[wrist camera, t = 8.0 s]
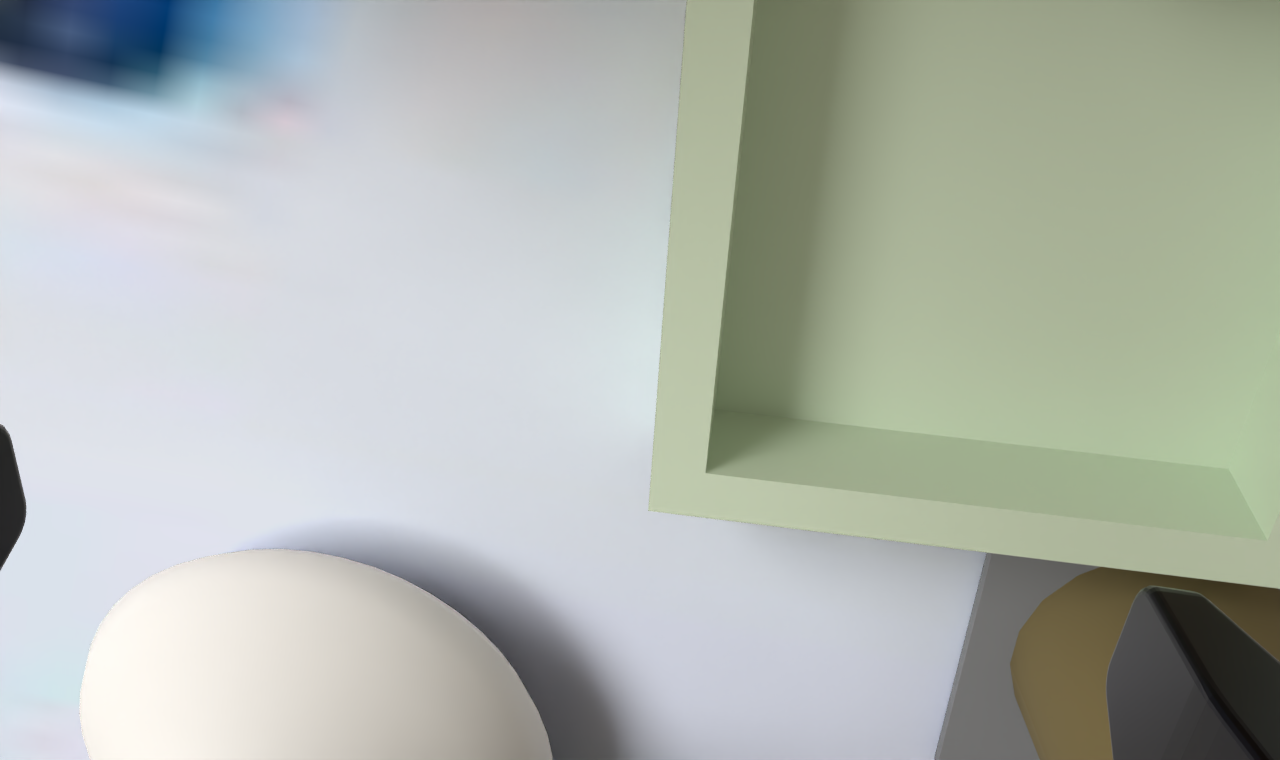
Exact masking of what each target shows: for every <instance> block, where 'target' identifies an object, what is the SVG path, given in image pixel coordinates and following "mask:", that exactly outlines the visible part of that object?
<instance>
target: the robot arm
mask: <svg viewBox="0 0 1280 760" xmlns="http://www.w3.org/2000/svg"><path fill="white" fill-rule="evenodd" d="M25 518H26V500H25V496H24V492H23V487H22V483H21V479H20V475H19V470H18V466H17V462H16V458H15V453H14V449H13V445H12V441H11V438H10V435H9V433H8V431H7V430H6V429H5V427H4V426H3V425H1V424H0V570H1V568H2V567H3V565H4V563H5V561H6V559H7V558H8V556H9V554H10V552H11V551H12V549H13V547H14V545H15V543H16V542H17V540H18V538H19V536H20V534H21V532H22V529H23V526H24V523H25ZM1106 700H1107V709H1108V718H1109V727H1110V737H1111V746H1112V755H1113V760H1280V662H1279V661H1278V660H1277V659H1276V658H1275V657H1274V656H1272V655H1271V654H1270V653H1269V652H1268V651H1267V650H1266V649H1264V648H1263V647H1262V646H1261V645H1260V644H1259V643H1258V642H1256V641H1255V640H1254V639H1253V638H1252V637H1251V636H1250V635H1248V634H1247V633H1246V632H1245V631H1244V630H1243V629H1242V628H1240V627H1239V626H1238V625H1237V624H1236V623H1235V622H1234V621H1233V620H1231V619H1230V618H1229V617H1228V616H1227V615H1226V614H1225V613H1223V612H1222V611H1221V610H1220V609H1219V608H1218V607H1217V606H1215V605H1214V604H1213V603H1212V602H1211V601H1210V600H1208V599H1207V598H1206V597H1205V596H1203V595H1202V594H1200V593H1197V592H1194V591H1188V590H1181V589H1174V588H1167V587H1160V586H1147V587H1145V588H1143V589H1141V590H1140V591H1139V593H1138V594H1137V595H1136V597H1135V599H1134V601H1133V603H1132V606H1131V608H1130V611H1129V613H1128V616H1127V619H1126V621H1125V624H1124V626H1123V629H1122V632H1121V634H1120V637H1119V639H1118V642H1117V644H1116V647H1115V650H1114V652H1113V655H1112V657H1111V660H1110V663H1109V666H1108V671H1107V678H1106Z"/></svg>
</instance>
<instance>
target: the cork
mask: <svg viewBox="0 0 1280 760" xmlns="http://www.w3.org/2000/svg"><path fill="white" fill-rule="evenodd" d="M1147 586H1160V587H1167V588H1174V589H1181V590H1188V591H1194V592H1197V593H1200V594H1202V595H1203V596H1205V597H1206V598H1207V599H1208V600H1210V601H1211V602H1212V603H1213V604H1214V605H1215V606H1217V607H1218V608H1219V609H1220V610H1221V611H1222V612H1223V613H1225V614H1226V615H1227V616H1228V617H1229V618H1230V619H1231V620H1233V621H1234V622H1235V623H1236V624H1237V625H1238V626H1239V627H1240V628H1242V629H1243V630H1244V631H1245V632H1246V633H1247V634H1248V635H1250V636H1251V637H1252V638H1253V639H1254V640H1255V641H1256V642H1258V643H1259V644H1260V645H1261V646H1262V647H1263V648H1264V649H1266V650H1267V651H1268V652H1269V653H1270V654H1271V655H1272V656H1274V657H1275V658H1276V659H1277V660H1278V661H1279V662H1280V590H1279V589H1277V588H1270V587H1262V586H1254V585H1246V584H1237V583H1229V582H1221V581H1213V580H1205V579H1197V578H1189V577H1181V576H1173V575H1165V574H1157V573H1148V572H1140V571H1132V570H1124V569H1116V568H1108V567H1099V568H1096V569H1094V570H1091V571H1088V572H1085V573H1083V574H1080V575H1078V576H1076V577H1075V578H1074V579H1072V580H1071V581H1069V582H1068V583H1066V584H1065V585H1064V586H1062V587H1061V588H1059V589H1058V590H1056V591H1055V592H1054V593H1052V594H1051V595H1049V596H1048V597H1047V598H1045V599H1044V600H1042V602H1041V603H1040V604H1039V606H1038V607H1037V608H1036V610H1035V611H1034V612H1033V614H1032V615H1031V616H1030V617H1029V619H1028V620H1027V621H1026V623H1025V624H1024V625H1023V627H1022V628H1021V629H1020V631H1019V633H1018V637H1017V641H1016V644H1015V648H1014V651H1013V655H1012V658H1011V662H1010V668H1011V675H1012V682H1013V688H1014V695H1015V698H1016V701H1017V703H1018V706H1019V708H1020V711H1021V713H1022V716H1023V718H1024V721H1025V723H1026V726H1027V729H1028V731H1029V734H1030V736H1031V739H1032V741H1033V744H1034V746H1035V749H1036V751H1037V754H1038V756H1039V759H1040V760H1113V755H1112V746H1111V737H1110V727H1109V718H1108V709H1107V700H1106V678H1107V671H1108V666H1109V663H1110V660H1111V657H1112V655H1113V652H1114V650H1115V647H1116V644H1117V642H1118V639H1119V637H1120V634H1121V632H1122V629H1123V626H1124V624H1125V621H1126V619H1127V616H1128V613H1129V611H1130V608H1131V606H1132V603H1133V601H1134V599H1135V597H1136V595H1137V594H1138V593H1139V591H1140V590H1141V589H1143V588H1145V587H1147Z"/></svg>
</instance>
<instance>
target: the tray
mask: <svg viewBox="0 0 1280 760" xmlns="http://www.w3.org/2000/svg"><path fill="white" fill-rule="evenodd" d="M648 511H654V512H663V513H671V514H679V515H687V516H695V517H703V518H711V519H719V520H727V521H735V522H743V523H752V524H760V525H768V526H776V527H784V528H792V529H800V530H808V531H816V532H824V533H833V534H841V535H849V536H857V537H865V538H873V539H881V540H889V541H897V542H905V543H914V544H922V545H930V546H938V547H946V548H954V549H962V550H970V551H978V552H986V553H995V554H1003V555H1011V556H1019V557H1027V558H1035V559H1043V560H1051V561H1059V562H1067V563H1076V564H1084V565H1092V566H1100V567H1108V568H1116V569H1124V570H1132V571H1140V572H1148V573H1157V574H1165V575H1173V576H1181V577H1189V578H1197V579H1205V580H1213V581H1221V582H1229V583H1237V584H1246V585H1254V586H1262V587H1270V588H1278V589H1280V0H687V3H686V16H685V29H684V43H683V56H682V69H681V83H680V96H679V109H678V123H677V136H676V149H675V162H674V176H673V189H672V202H671V216H670V229H669V242H668V256H667V269H666V282H665V296H664V309H663V322H662V336H661V349H660V362H659V375H658V389H657V402H656V415H655V429H654V442H653V455H652V469H651V482H650V495H649V509H648Z"/></svg>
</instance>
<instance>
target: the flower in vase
mask: <svg viewBox="0 0 1280 760" xmlns="http://www.w3.org/2000/svg"><path fill="white" fill-rule="evenodd" d="M79 714H80V721H81V728H82V735H83V738H84V742H85V745H86V748H87V751H88V755H89V758H90V760H553V757H552V753H551V748H550V743H549V739H548V735H547V732H546V730H545V727H544V724H543V722H542V719H541V717H540V714H539V712H538V710H537V708H536V706H535V704H534V703H533V701H532V699H531V697H530V696H529V694H528V692H527V690H526V689H525V687H524V685H523V683H522V682H521V680H520V678H519V676H518V675H517V673H516V671H515V670H514V669H513V667H512V666H511V665H510V663H509V662H508V661H507V659H506V658H505V657H504V655H503V654H502V653H501V651H500V650H499V649H498V648H497V647H496V646H495V645H494V644H493V643H492V642H491V641H490V640H489V639H488V638H487V637H486V636H485V635H484V634H483V633H482V632H481V631H480V630H479V629H478V628H477V627H476V626H474V625H473V624H472V623H471V622H470V621H468V620H467V619H466V618H465V617H463V616H462V615H461V614H460V613H459V612H457V611H456V610H454V609H453V608H452V607H450V606H449V605H447V604H446V603H444V602H443V601H441V600H440V599H438V598H437V597H435V596H434V595H432V594H431V593H429V592H427V591H425V590H423V589H421V588H419V587H417V586H416V585H414V584H412V583H410V582H408V581H406V580H404V579H402V578H400V577H397V576H395V575H392V574H390V573H388V572H385V571H383V570H380V569H378V568H375V567H373V566H369V565H366V564H362V563H359V562H356V561H352V560H349V559H346V558H342V557H337V556H332V555H327V554H322V553H317V552H312V551H301V550H290V549H252V550H245V551H238V552H231V553H224V554H218V555H213V556H207V557H203V558H199V559H195V560H192V561H188V562H184V563H181V564H177V565H175V566H173V567H170V568H168V569H166V570H163V571H161V572H159V573H157V574H154V575H152V576H150V577H149V578H147V579H146V580H144V581H143V582H141V583H140V584H138V585H137V586H135V587H133V588H132V589H131V590H130V591H128V592H127V593H126V594H125V595H124V596H123V597H122V598H121V599H120V600H119V601H118V602H117V603H116V604H115V605H114V606H113V607H112V608H111V610H110V611H109V612H108V614H107V615H106V616H105V618H104V619H103V621H102V622H101V623H100V625H99V627H98V630H97V632H96V634H95V636H94V638H93V640H92V643H91V646H90V650H89V654H88V658H87V663H86V667H85V672H84V677H83V681H82V686H81V691H80V711H79Z"/></svg>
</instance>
